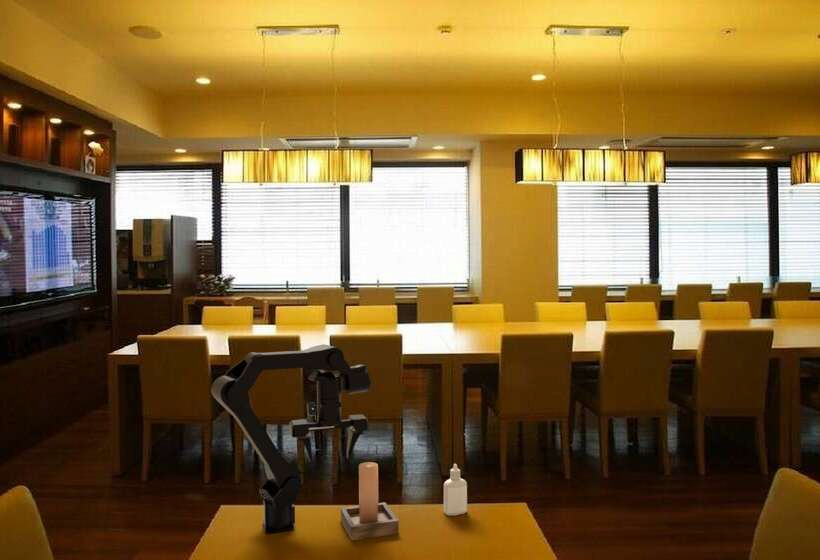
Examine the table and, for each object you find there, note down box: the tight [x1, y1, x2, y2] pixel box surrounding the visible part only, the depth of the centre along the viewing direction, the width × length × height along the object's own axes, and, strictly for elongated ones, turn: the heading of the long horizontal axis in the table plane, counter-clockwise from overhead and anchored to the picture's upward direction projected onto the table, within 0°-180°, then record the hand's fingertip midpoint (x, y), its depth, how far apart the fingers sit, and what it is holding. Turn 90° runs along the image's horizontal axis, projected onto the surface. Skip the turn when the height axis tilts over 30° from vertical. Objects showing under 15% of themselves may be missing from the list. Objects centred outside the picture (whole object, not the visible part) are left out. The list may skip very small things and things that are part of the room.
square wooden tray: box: [340, 501, 400, 541], centre depth 147 cm, size 11×11×3 cm
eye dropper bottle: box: [443, 463, 468, 517], centre depth 155 cm, size 4×6×12 cm
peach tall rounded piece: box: [358, 461, 379, 524], centre depth 147 cm, size 4×4×13 cm
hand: (329, 460), depth 155 cm, fingers open, 9 cm apart
